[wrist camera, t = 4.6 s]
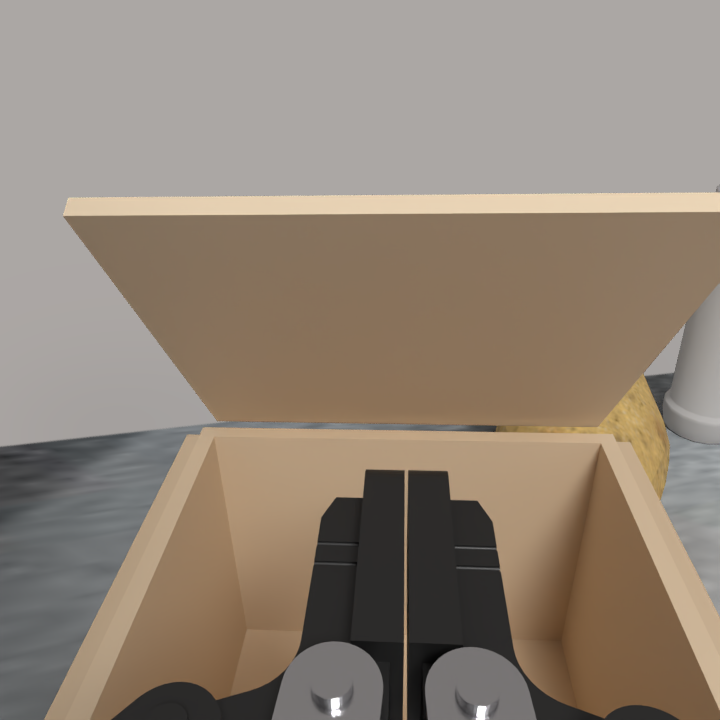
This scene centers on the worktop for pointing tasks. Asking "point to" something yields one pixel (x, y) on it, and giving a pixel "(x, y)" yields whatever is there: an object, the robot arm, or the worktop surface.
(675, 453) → the worktop surface
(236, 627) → the carton
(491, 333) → the carton flap
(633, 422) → the potato
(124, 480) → the worktop surface
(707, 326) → the bottle
